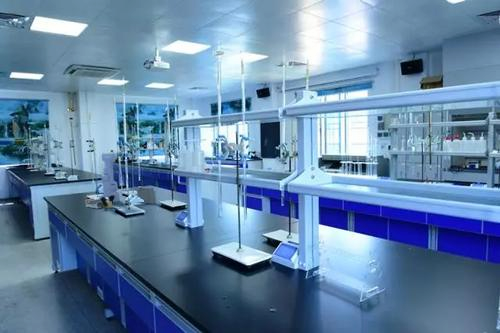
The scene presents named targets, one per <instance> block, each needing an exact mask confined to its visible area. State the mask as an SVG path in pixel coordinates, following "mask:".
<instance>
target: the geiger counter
mask: <svg viewBox="0 0 500 333" xmlns="http://www.w3.org/2000/svg"><path fill="white" fill-rule="evenodd" d="M134 194H135V195H136V194H137V198H138V197H140V198H141V199H143V200H144V202H145V203H144V204H150V205H155V204H156V203H157V199H156V190H154V188H153V187H147V186H142V185H141V186H140V185H139V186H137V191H136V192H135V193H134Z"/></svg>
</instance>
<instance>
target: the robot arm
mask: <svg viewBox="0 0 500 333" xmlns="http://www.w3.org/2000/svg"><path fill="white" fill-rule="evenodd" d="M101 161H103V162H104V168H103V169H102V175H101V183H102V193H103V194H101V195H98V199H101V201H102V203H103V205H104V206H106V200H109V201H112V205H113V204H114V203H117V202H121V198H120V192H119V191H118V190H119V188H118V182H117V181H115V180H114V168H113V167H114V166H113V164H114V163H115V162H116V155H115V153H114V152H111V153H106V152H105V153H104V152H103V153H102V154H101Z"/></svg>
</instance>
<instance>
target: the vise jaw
mask: <svg viewBox="0 0 500 333" xmlns="http://www.w3.org/2000/svg"><path fill="white" fill-rule="evenodd" d="M84 201H85V202H84V203H85V204H96V202H100V201H101V199H100V198H97V199H95V198H89V199H88V198H87V199H85V200H84Z"/></svg>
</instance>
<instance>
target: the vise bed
mask: <svg viewBox="0 0 500 333" xmlns="http://www.w3.org/2000/svg"><path fill="white" fill-rule="evenodd" d="M106 201H109V200H108V199H106ZM85 207H86V208H92V209H101V208H104V205H103V203H102V201H100V202H96V204H86V203H85Z"/></svg>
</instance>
